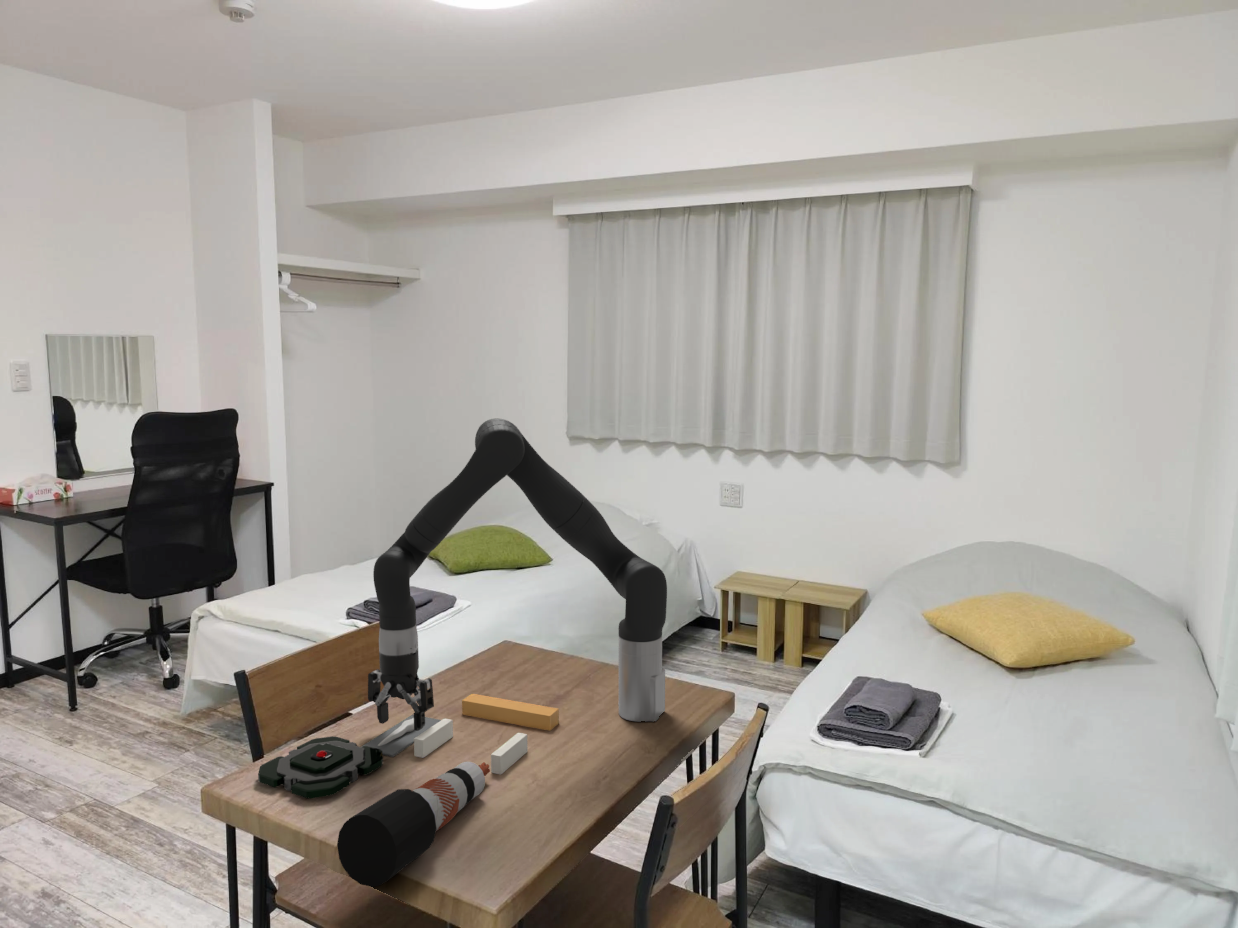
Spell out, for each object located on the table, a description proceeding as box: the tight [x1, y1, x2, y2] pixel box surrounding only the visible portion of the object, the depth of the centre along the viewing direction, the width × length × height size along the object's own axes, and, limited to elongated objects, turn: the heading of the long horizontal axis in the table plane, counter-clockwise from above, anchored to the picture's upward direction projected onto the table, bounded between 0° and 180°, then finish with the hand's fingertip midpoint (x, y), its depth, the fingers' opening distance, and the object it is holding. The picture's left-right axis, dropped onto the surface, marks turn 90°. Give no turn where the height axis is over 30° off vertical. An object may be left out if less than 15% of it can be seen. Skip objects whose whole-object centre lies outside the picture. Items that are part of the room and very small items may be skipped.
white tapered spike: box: [378, 718, 414, 746], centre depth 171 cm, size 15×3×2 cm, turn 157°
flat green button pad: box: [257, 735, 384, 799], centre depth 156 cm, size 18×18×5 cm
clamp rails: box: [413, 718, 529, 775], centre depth 163 cm, size 19×10×4 cm, turn 67°
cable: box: [336, 761, 491, 888], centre depth 137 cm, size 10×34×10 cm, turn 157°
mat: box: [360, 713, 442, 758], centre depth 172 cm, size 8×17×1 cm, turn 157°
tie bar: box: [461, 693, 560, 731], centre depth 179 cm, size 21×4×4 cm, turn 67°
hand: (401, 725), depth 171 cm, fingers open, 8 cm apart
